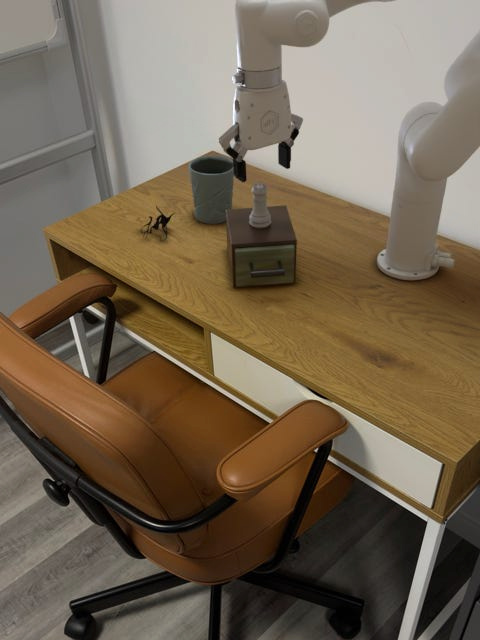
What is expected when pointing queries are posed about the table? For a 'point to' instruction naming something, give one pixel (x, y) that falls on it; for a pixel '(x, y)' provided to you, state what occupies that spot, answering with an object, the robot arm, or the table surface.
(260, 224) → the rook chess piece
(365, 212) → the table surface
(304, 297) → the table surface
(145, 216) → the table surface
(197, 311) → the table surface
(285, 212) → the cabinet
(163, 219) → the creature
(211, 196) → the grey green cup
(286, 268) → the drawer
